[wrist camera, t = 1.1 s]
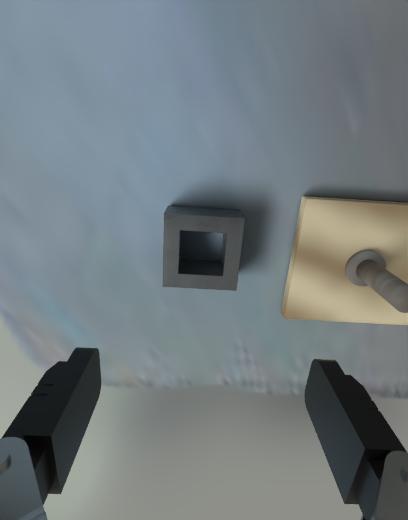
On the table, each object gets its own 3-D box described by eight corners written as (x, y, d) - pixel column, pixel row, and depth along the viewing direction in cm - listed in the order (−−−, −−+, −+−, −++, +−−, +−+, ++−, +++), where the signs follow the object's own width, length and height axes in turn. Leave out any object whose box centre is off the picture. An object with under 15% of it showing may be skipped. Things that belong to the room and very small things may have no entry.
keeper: (302, 196, 25) (339, 215, 18) (443, 205, 25) (530, 227, 19) (281, 311, 29) (305, 362, 22) (403, 318, 29) (463, 370, 23)
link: (168, 205, 25) (164, 213, 22) (239, 210, 25) (244, 218, 23) (166, 271, 27) (162, 286, 25) (232, 275, 28) (236, 290, 25)
